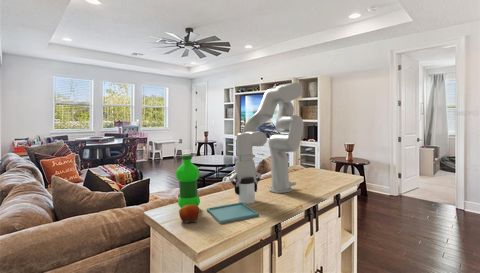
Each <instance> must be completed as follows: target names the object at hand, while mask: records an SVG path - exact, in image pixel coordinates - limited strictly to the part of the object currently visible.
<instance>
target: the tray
mask: <svg viewBox="0 0 480 273" xmlns="http://www.w3.org/2000/svg"><path fill="white" fill-rule="evenodd" d="M206 212H207V213H208V214H209V215H211V216H212V218H214V220H215V221H216V222H217V223H218V224H219V225H222V224H226V223H232V222H237V221H241V220H246V219H250V218H257V217H259V216H260V214H259V212H258V211H256V210H254V209H253V208H251V207H250V206H248V205H247V204H245V203H242V202H240V203H239V202H237V203H236V202H234V203H230V204H224V205H219V206H212V207H207V208H206ZM256 216H257V217H256Z"/></svg>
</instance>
